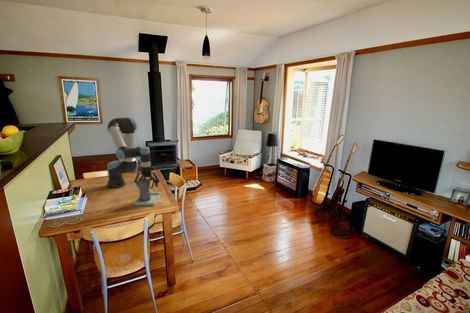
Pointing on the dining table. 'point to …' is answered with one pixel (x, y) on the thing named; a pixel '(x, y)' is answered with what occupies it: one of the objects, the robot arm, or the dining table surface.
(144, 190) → the moka pot
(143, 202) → the tray
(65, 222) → the dining table surface
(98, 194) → the dining table surface
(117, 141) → the robot arm
